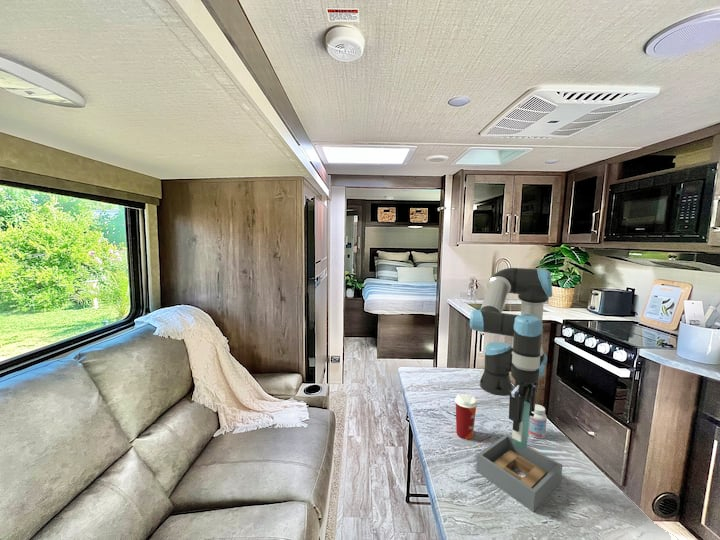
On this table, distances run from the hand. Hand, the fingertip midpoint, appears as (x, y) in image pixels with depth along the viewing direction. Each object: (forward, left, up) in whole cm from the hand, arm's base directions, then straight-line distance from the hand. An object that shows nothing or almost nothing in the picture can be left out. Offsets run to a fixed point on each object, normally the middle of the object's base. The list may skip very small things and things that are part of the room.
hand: (520, 436), depth 95 cm
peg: (0, 0, -3) cm, 3 cm away
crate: (0, 0, -14) cm, 14 cm away
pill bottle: (-27, -7, -14) cm, 32 cm away
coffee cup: (-4, -23, -14) cm, 27 cm away
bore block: (0, 0, -14) cm, 14 cm away
